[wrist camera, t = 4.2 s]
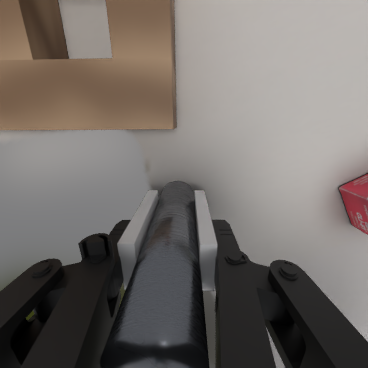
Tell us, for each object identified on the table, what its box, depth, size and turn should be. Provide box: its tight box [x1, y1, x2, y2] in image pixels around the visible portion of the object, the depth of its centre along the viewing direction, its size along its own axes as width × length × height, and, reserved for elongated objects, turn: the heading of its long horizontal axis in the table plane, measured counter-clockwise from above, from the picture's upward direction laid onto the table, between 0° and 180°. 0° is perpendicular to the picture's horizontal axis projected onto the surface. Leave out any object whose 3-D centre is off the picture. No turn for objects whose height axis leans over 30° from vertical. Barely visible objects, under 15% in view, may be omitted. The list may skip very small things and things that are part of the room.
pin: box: [100, 181, 209, 368], centre depth 11 cm, size 3×3×12 cm
